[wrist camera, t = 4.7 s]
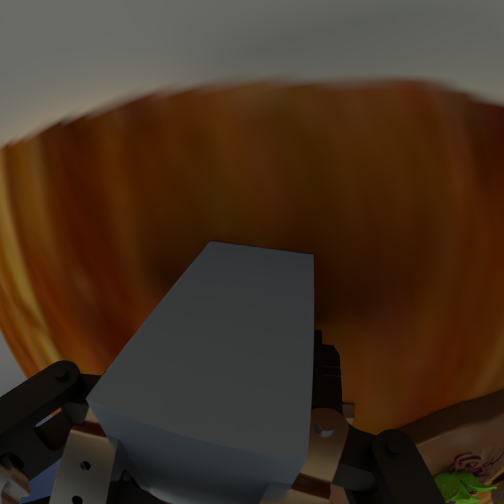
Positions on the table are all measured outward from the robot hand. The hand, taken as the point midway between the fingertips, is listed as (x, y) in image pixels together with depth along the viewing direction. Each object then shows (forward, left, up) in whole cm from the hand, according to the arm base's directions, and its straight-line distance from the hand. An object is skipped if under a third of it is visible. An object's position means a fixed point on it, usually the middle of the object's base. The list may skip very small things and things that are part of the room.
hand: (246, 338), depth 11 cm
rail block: (0, 0, -2) cm, 2 cm away
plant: (-17, +15, -2) cm, 23 cm away
